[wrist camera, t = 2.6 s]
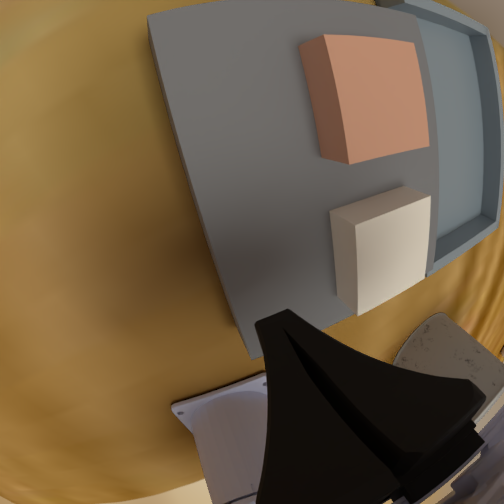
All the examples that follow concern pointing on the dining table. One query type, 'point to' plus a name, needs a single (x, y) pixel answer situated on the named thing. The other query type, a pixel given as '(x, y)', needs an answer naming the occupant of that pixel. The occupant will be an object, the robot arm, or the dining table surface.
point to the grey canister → (453, 358)
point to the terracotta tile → (365, 96)
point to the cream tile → (380, 246)
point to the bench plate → (275, 147)
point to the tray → (462, 125)
